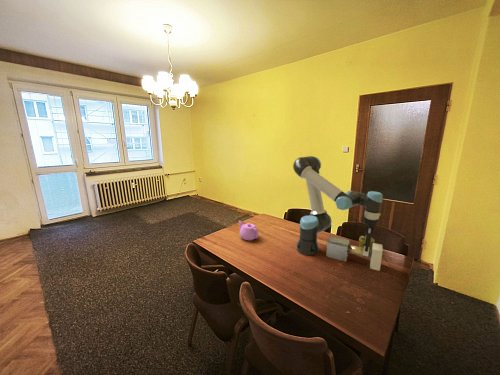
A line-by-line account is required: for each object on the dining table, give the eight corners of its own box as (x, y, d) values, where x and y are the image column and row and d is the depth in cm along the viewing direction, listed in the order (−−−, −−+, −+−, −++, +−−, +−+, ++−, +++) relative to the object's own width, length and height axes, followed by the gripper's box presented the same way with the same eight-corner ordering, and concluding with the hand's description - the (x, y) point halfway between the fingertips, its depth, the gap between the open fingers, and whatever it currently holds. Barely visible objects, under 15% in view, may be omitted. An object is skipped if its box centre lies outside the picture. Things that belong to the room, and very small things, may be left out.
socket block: (369, 268, 123) (372, 249, 120) (370, 260, 131) (372, 242, 128) (379, 271, 121) (382, 251, 118) (379, 263, 128) (382, 244, 125)
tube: (343, 253, 131) (344, 245, 130) (344, 249, 136) (345, 242, 135) (374, 261, 123) (375, 253, 121) (374, 257, 127) (376, 249, 126)
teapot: (263, 238, 162) (263, 224, 160) (251, 244, 153) (251, 229, 150) (244, 231, 175) (244, 217, 173) (233, 236, 166) (232, 222, 163)
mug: (379, 252, 137) (375, 237, 137) (362, 255, 139) (358, 240, 140) (373, 246, 148) (369, 233, 149) (358, 249, 151) (354, 236, 152)
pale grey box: (326, 256, 136) (327, 240, 134) (328, 250, 143) (330, 235, 141) (346, 261, 130) (347, 245, 127) (347, 255, 137) (349, 239, 135)
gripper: (378, 227, 109) (372, 262, 114) (379, 212, 130) (373, 243, 135) (362, 223, 113) (357, 258, 118) (365, 210, 134) (360, 240, 139)
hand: (366, 250), depth 127 cm, fingers open, 13 cm apart
